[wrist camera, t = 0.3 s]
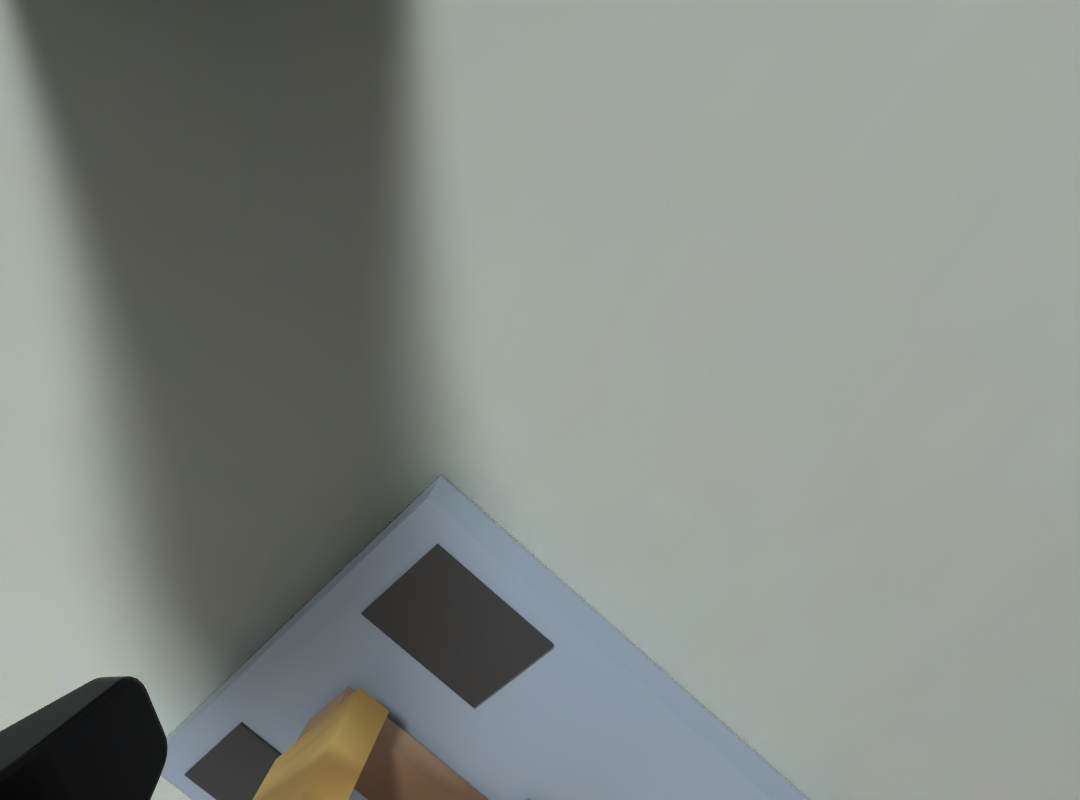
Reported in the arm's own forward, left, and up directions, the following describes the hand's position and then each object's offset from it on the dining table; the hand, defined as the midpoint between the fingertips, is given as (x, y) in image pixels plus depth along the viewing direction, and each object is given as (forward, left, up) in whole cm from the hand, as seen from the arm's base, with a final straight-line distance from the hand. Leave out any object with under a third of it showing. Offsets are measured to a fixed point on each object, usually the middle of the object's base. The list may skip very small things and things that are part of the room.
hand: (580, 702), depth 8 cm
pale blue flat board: (-10, +15, -13) cm, 22 cm away
